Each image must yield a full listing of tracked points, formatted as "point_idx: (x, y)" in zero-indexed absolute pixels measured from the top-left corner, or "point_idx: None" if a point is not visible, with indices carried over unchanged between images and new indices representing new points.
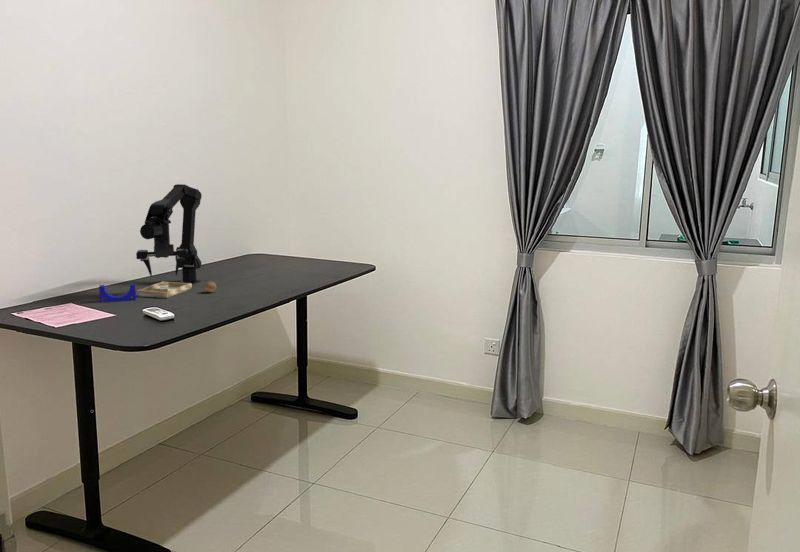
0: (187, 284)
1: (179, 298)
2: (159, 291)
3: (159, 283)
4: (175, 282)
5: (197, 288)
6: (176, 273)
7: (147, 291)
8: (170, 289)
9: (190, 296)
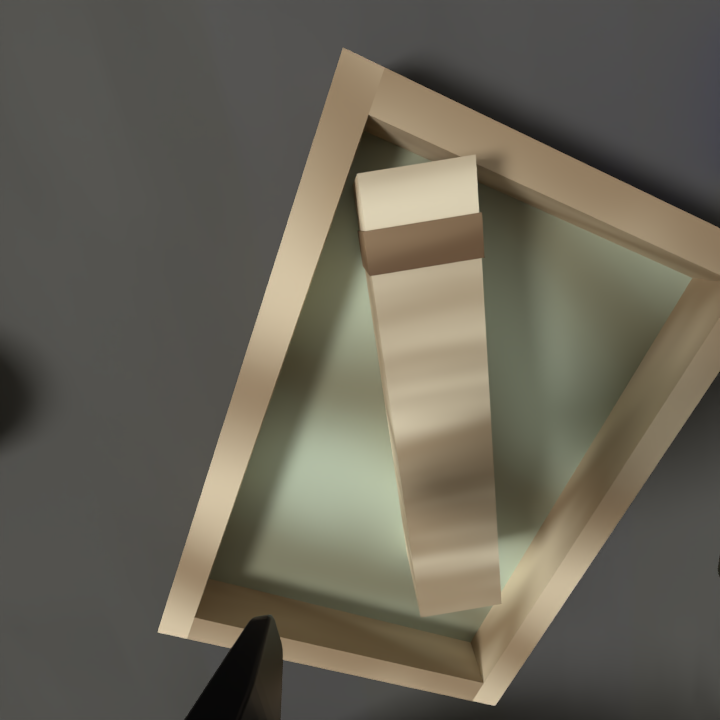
0: (188, 585)
1: (171, 66)
2: None
3: (516, 632)
4: (352, 671)
5: (126, 591)
6: (243, 645)
7: (644, 194)
8: (377, 505)
9: (58, 191)
